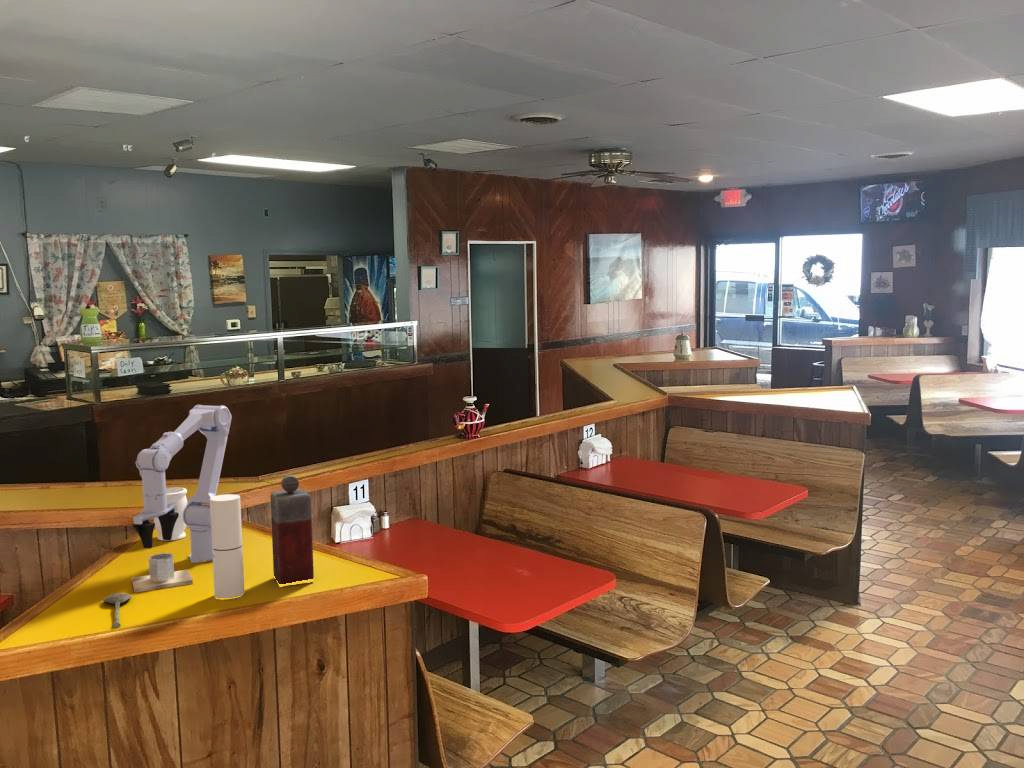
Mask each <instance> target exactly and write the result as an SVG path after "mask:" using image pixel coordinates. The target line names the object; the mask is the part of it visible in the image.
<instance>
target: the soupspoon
mask: <svg viewBox="0 0 1024 768" xmlns="http://www.w3.org/2000/svg"><path fill="white" fill-rule="evenodd" d="M132 597H133V595H131V594H128V593H122V592H121V593H120V592H119V593H118V592H117V593H112V594H110V595H108V596H106V597H105V598H103V600H102V601H103V602H105V603H106V602H107V603H109V604H114V605H115V607H114V608H115V618H114V622H113V623H112V625H111V627H115V628H120V627H121V623H120V604H121V603H124V602H126V601H128V600H130V599H131V598H132ZM119 626H120V627H119Z"/></svg>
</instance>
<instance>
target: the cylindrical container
mask: <svg viewBox="0 0 1024 768" xmlns="http://www.w3.org/2000/svg"><path fill="white" fill-rule="evenodd" d="M209 506H210V512H211V533H212V554H213V560H212V570H213V571H212V572H213V589H214V593H213V594H214V598H215V597H217V598H233V597H238V596H241V595H242V594H244V595H245V576H244V555H243V553H244V552H243V532H242V508H241V495H239V494H235V493H233V494H232V493H231V494H230V493H229V494H226V493H225V494H218V495H216V496H214V497H211V498H210V505H209Z"/></svg>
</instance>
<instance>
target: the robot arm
mask: <svg viewBox="0 0 1024 768" xmlns="http://www.w3.org/2000/svg"><path fill="white" fill-rule="evenodd" d="M232 417H233V415H232V413H231V412H230V410H229V408H228V407H227V406H226V405H205V404H204V405H203V404H196V405H194V406H193V408H192V409H190V410H189V411H188V416H187V418H186V419H184V420H183V421H182V423H181V424H180V425H179V426H178V427H177V428H176V429H175V430H174V431H167V432H164V433H163V434H162V436H161V437H160V438H159V439H158V440H156V442H154V443H153V444H151V446H150V447H149V448H145V449H142V450H141V451H140V452H138V454H137V457H136V460H135V465H136V468H137V469H138V471H139V476H140V477H141V482H142V483H141V484H142V497H143V498H142V499H143V509H141V510H140V511H141V512H140V513H138V514H137V515H135V516H133V517H132V518H133V522H132V527H133V528H134V529H135V531H136V533H137V534H138V537H139V538H140V541H141V544H142V547H143V548H144V549H152V548H153V543H154V542H153V539H154V538H153V536H154V535H153V534H154V529H155V523H154V522H150V520H151V521H152V520H154V519H153V518H156V517H158V519H159V521H160V524H161V529H162V537H163V540H171V538H172V533H173V529H174V525H175V523H176V520H177V518H178V517H179V513H177V512H174V511H177V504H167V497H166V488H167V481H166V470H168V467H170V466H169V465H170V463H171V462H170V461H172V458H173V457H174V456H175V455H176V454H177V453H178V452H179V451H180V450H181V449H183V447H184V441H185V440H186V439H187V438H189V437H191V436H192V434H194V433H195V432H196V431H199V432H200V433H201V434H202V435H204V437H206V440H207V441H206V446H205V450H204V455H203V460H202V464H201V468H200V469H201V470H200V473H199V478H198V483H197V484H198V485H197V489H196V492H195V493H194V494H192V496H190V497H189V498H188V499H187V505H186V507H185V509H184V511H183V521H184V523H185V524H186V526H187V529H189V538H190V554H188V555H187V557H188V558H189V561H190V562H191V564H197V563H203V562H211V561H212V562H213V554H212V533H211V512H210V498H211V497H214V496H217V491H218V487H219V486H218V485H219V482H220V478H221V477H220V476H221V474H222V473H221V472H222V467H223V462H224V457H225V452H226V447H227V443H228V438H229V437H228V435H229V434H230V428H231V423H232Z"/></svg>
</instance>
